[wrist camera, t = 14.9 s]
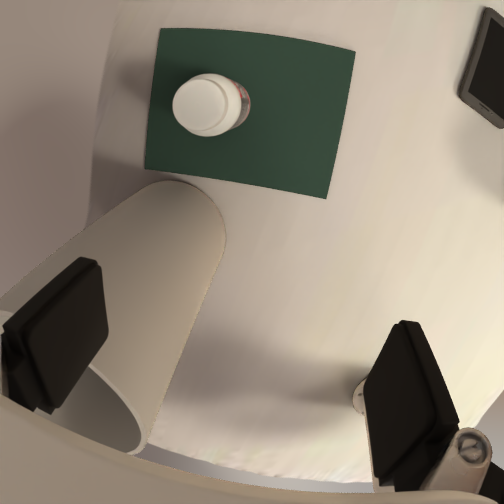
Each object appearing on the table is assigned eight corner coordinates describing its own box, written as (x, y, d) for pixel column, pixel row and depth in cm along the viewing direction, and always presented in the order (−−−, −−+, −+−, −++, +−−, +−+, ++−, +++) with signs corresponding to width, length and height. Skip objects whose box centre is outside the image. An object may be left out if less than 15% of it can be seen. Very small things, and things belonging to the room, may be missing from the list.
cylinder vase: (130, 268, 40) (18, 416, 18) (126, 174, 35) (-46, 287, 12) (223, 284, 40) (159, 473, 17) (231, 185, 34) (126, 350, 12)
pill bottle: (259, 89, 29) (246, 83, 20) (239, 137, 31) (219, 151, 23) (208, 72, 28) (176, 61, 20) (191, 120, 31) (153, 128, 22)
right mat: (354, 52, 26) (355, 51, 26) (325, 198, 33) (326, 199, 33) (162, 29, 27) (160, 28, 27) (146, 168, 34) (144, 169, 34)
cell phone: (527, 42, 20) (531, 41, 20) (500, 131, 27) (504, 132, 26) (485, 5, 20) (488, 4, 19) (456, 97, 26) (459, 97, 26)
